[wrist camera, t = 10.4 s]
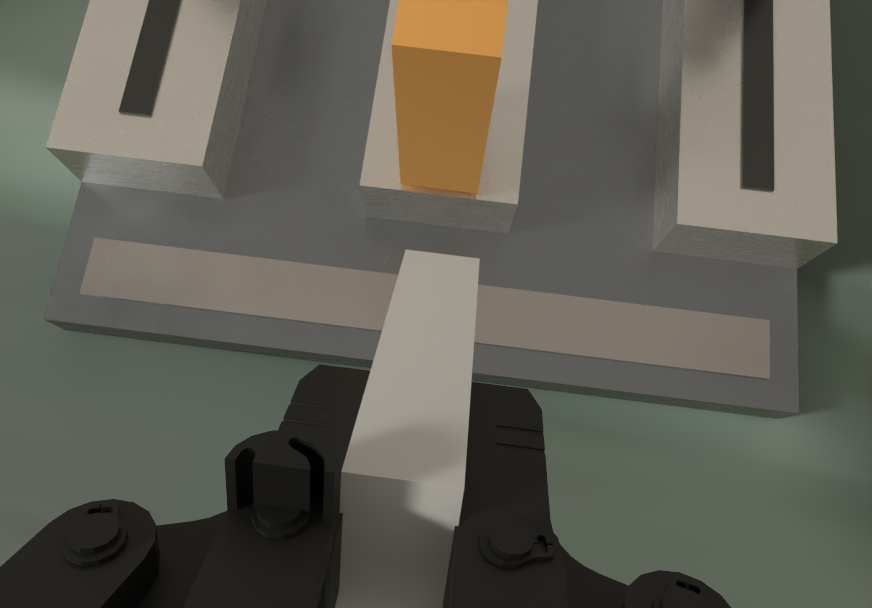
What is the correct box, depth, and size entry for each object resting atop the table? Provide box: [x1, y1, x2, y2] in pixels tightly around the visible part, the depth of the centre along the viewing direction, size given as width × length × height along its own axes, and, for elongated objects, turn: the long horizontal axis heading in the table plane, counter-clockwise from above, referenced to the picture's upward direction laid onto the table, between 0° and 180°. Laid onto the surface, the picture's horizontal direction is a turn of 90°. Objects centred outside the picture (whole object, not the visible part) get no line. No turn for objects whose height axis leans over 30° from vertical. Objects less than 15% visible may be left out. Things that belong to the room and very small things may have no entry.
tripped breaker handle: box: [391, 0, 508, 193], centre depth 19 cm, size 2×3×7 cm
